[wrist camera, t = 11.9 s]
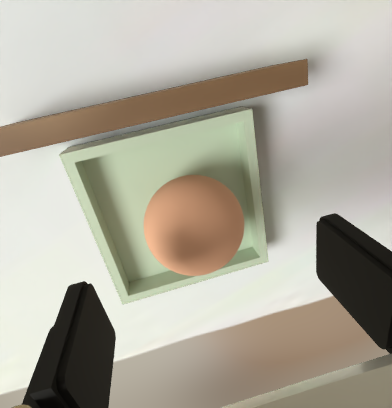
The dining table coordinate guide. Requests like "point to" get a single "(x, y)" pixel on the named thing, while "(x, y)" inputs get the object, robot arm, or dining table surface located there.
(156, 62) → the dining table surface
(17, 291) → the dining table surface
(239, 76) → the board
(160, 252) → the ball
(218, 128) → the tray
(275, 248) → the dining table surface
